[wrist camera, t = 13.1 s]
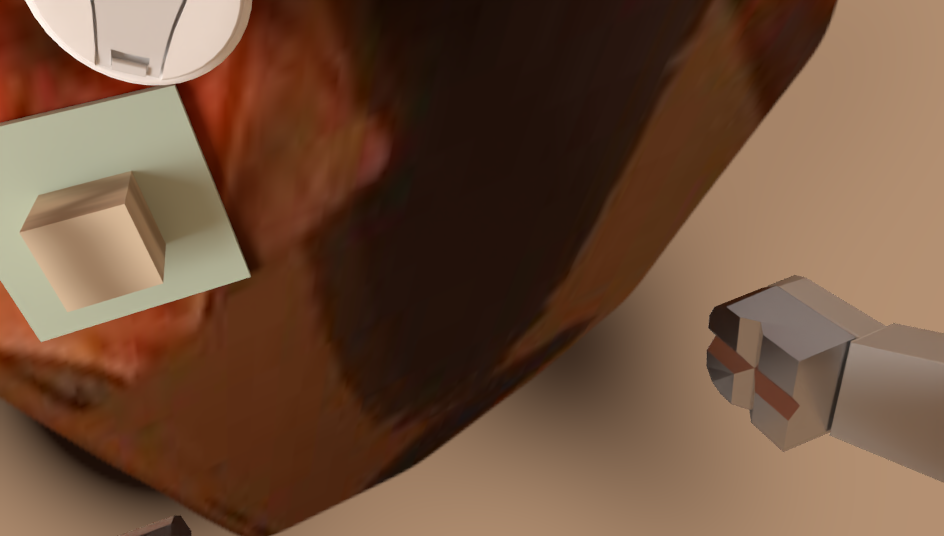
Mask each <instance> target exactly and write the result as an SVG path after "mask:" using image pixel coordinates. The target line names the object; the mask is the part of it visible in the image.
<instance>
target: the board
mask: <svg viewBox="0 0 944 536" xmlns="http://www.w3.org/2000/svg"><path fill="white" fill-rule="evenodd" d="M129 171H132V173H133V175H134V177H135V179H136V182H137V184H138V186H139V188H140V190H141V192H142V194H143V196H144V199H145V201H146V203H147V205H148V207H149V209H150V211H151V214H152V216H153V218H154V220H155V222H156V224H157V226H158V228H159V231H160V233H161V235H162V237H163V239H164V241H165V243H166V251H165V266H164V281H163V284H159V285H156V286H153V287H150V288H146V289H143V290H140V291H136V292H133V293H130V294H126V295H123V296H120V297H117V298H113V299H110V300H107V301H103V302H100V303H97V304H93V305H90V306H87V307H84V308H80V309H77V310H74V311H70V312H67V311H66V309H65V307H64V306H63V304H62V302H61V301H60V299H59V297H58V296H57V294H56V292H55V291H54V289H53V288H52V286H51V284H50V283H49V281H48V279H47V278H46V276H45V274H44V273H43V271H42V269H41V268H40V266H39V264H38V263H37V261H36V260H35V258H34V256H33V255H32V253H31V251H30V250H29V248H28V246H27V245H26V243H25V241H24V240H23V238H22V236H21V235H20V233H19V232H20V230H21V228H22V226H23V224H24V222H25V220H26V218H27V216H28V214H29V212H30V210H31V208H32V206H33V205H34V203H35V201H36V199H37V197H38V195H41V194H45V193H48V192H52V191H56V190H60V189H64V188H68V187H71V186H75V185H79V184H83V183H87V182H91V181H94V180H98V179H102V178H106V177H110V176H113V175H117V174H121V173H125V172H129ZM249 277H251V276H250V271H249V268H248V266H247V263H246V261H245V258H244V255H243V253H242V250H241V248H240V245H239V243H238V240H237V238H236V235H235V233H234V230H233V228H232V225H231V223H230V220H229V218H228V215H227V213H226V210H225V208H224V205H223V203H222V200H221V198H220V195H219V193H218V190H217V187H216V185H215V182H214V180H213V177H212V175H211V172H210V170H209V167H208V165H207V162H206V160H205V157H204V155H203V152H202V150H201V147H200V145H199V142H198V140H197V137H196V135H195V132H194V130H193V127H192V125H191V122H190V119H189V117H188V114H187V112H186V109H185V107H184V104H183V102H182V99H181V97H180V94H179V92H178V89H177V87H176V84H169V85H160V86H156V87H151V88H147V89H143V90H139V91H134V92H130V93H126V94H122V95H117V96H113V97H109V98H105V99H100V100H96V101H92V102H87V103H83V104H79V105H75V106H70V107H66V108H62V109H58V110H53V111H49V112H45V113H41V114H36V115H32V116H28V117H24V118H19V119H15V120H11V121H6V122H2V123H0V280H1V282H2V283H3V285H4V286H5V288H6V290H7V291H8V293H9V294H10V296H11V297H12V299H13V300H14V302H15V303H16V305H17V306H18V308H19V309H20V311H21V312H22V314H23V315H24V317H25V319H26V320H27V322H28V323H29V325H30V326H31V328H32V329H33V331H34V332H35V334H36V335H37V337H38V338H39V340H40V341H41V342H42V341H46V340H49V339H52V338H55V337H58V336H62V335H65V334H68V333H71V332H75V331H78V330H81V329H84V328H87V327H91V326H94V325H97V324H100V323H104V322H107V321H110V320H113V319H116V318H120V317H123V316H126V315H129V314H133V313H136V312H139V311H142V310H146V309H149V308H152V307H155V306H158V305H162V304H165V303H168V302H171V301H175V300H178V299H181V298H184V297H187V296H191V295H194V294H197V293H200V292H204V291H207V290H210V289H213V288H216V287H220V286H223V285H226V284H229V283H233V282H236V281H239V280H242V279H246V278H249Z"/></svg>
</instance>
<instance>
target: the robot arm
mask: <svg viewBox="0 0 944 536" xmlns="http://www.w3.org/2000/svg"><path fill="white" fill-rule="evenodd" d="M708 328H709V329H710V330H711V331H712V332H713V333H714V334H715V335H716V336H715V338H714V339H713V341H712V343H711V344H710V346H709V347H708V349H707V369H708V372H709V374H710V377H711V380H712V382H713V384H714V385H715V387H716V388H717V390H718V391H719V392H720V394H721V395H723V397H725V399H726V400H728V401H729V402H730V403H731V404H733V405H736V406H739V407H742V408H745V409H749V410H750V417H751V423H752V424H753V425H754V426H755V427H756V428H758V429H759V430H760V431H761V432H762V433H763V434H764V435H765V436H766V437H767V438H768V439H770V440H771V441H772V442H773V443H774V444H775V445H776V446H777V447H778V448H779V449H780V450H782V451H783V452H784V451H787V450H789V449H791V448H794V447H796V446H798V445H801V444H803V443H806V442H808V441H810V440H813V439H815V438H817V437H820V436H822V435H824V434H827V433H829V432H830V436H832V437H835V438H837V439H840V440H842V441H844V442H847V443H849V444H852V445H854V446H857V447H859V448H861V449H864V450H866V451H869V452H871V453H873V454H876V455H879V456H881V457H884V458H886V459H888V460H890V461H893V462H895V463H898V464H900V465H903V466H905V467H907V468H910V469H912V470H915V471H917V472H919V473H922V474H924V475H927V476H929V477H932V478H934V479H937V480H939V481H941V482H944V333H939V332H934V331H930V330H925V329H919V328H915V327H910V326H905V325H900V324H895V323H894V324H891V325H889V326H885V325H883V324H882V323H880V322H878V321H877V320H875V319H873V318H872V317H870V316H868V315H867V314H865V313H863V312H862V311H860V310H858V309H857V308H855V307H853V306H852V305H850V304H848V303H847V302H845V301H844V300H842V299H840V298H839V297H837V296H835V295H834V294H832V293H830V292H828V291H827V290H825V289H824V288H822V287H820V286H819V285H817V284H815V283H814V282H812V281H811V280H809V279H807V278H805V277H801V276H796V275H794V276H791V277H789V278H786V279H784V280H781V281H779V282H776V283H774V284H771V285H768V286H767V287H765V288H761V289H758V290H756V291H753V292H751V293H748V294H746V295H743V296H741V297H738V298H736V299H733V300H731V301H728V302H726V303H723V304H721V305H718V306H716V307H714V309H713V310H712V312H711V314H710V315H709V327H708ZM119 536H191V530H190V528H189V527H188V526H187V524H186V523H185V521H184V520H183V518H182V517H181V516H172V517H169V518H166V519H163V520H160V521H158V522H155V523H152V524H149V525H147V526H144V527H141V528H138V529H136V530H133V531H130V532H127V533H124V534H121V535H119Z"/></svg>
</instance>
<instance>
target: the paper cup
mask: <svg viewBox="0 0 944 536" xmlns="http://www.w3.org/2000/svg"><path fill="white" fill-rule="evenodd" d="M25 1H26V3H27V4H28V6H29V8H30V10H31V11H32V13H33V15H34V17H35V18H36V19H37V21H38V22H39V23H40V25H41V26H42V27H43V28H44V30H45V31H46V32H47V34H48V35H49V36H50V37H51V38H52V39H53V40H54V41H55V42H56V43H57V44H58V45H59V46H60V47H61V48H63V49H64V50H65V51H66V52H68V53H69V54H70V55H72V56H73V57H74V58H75V59H77V60H78V61H80V62H82V63H83V64H85V65H87V66H88V67H90V68H92V69H93V70H96V71H98V72H100V73H103V74H105V75H107V76H109V77H112V78H115V79H119V80H122V81H126V82H129V83H136V84H143V85H169V84H176V83H181V82H185V81H188V80H191V79H194V78H197V77H199V76H201V75H203V74H205V73H207V72H209V71H211V70H212V69H213V68H215V67H216V66H217V65H219V64H220V63H222V62H223V61H224V60H225V59H226V58H227V56H228V55H229V54H230V53H231V52H232V51H233V50H234V48H235V47H236V45H237V44H238V42H239V41H240V39H241V38H242V35H243V33H244V31H245V29H246V26H247V24H248V20H249V16H250V12H251V7H252V0H25Z"/></svg>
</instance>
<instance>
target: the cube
mask: <svg viewBox="0 0 944 536" xmlns="http://www.w3.org/2000/svg"><path fill="white" fill-rule="evenodd" d="M19 233H20V235H21V236H22V238H23V240H24V241H25V243H26V245H27V246H28V248H29V250H30V251H31V253H32V255H33V256H34V258H35V260H36V261H37V263H38V264H39V266H40V268H41V269H42V271H43V273H44V274H45V276H46V278H47V279H48V281H49V283H50V284H51V286H52V288H53V289H54V291H55V292H56V294H57V296H58V297H59V299H60V301H61V302H62V304H63V306H64V307H65V309H66V311H67V312H70V311H74V310H77V309H80V308H84V307H87V306H90V305H93V304H97V303H100V302H103V301H107V300H110V299H113V298H117V297H120V296H123V295H126V294H130V293H133V292H136V291H140V290H143V289H146V288H150V287H153V286H156V285H159V284H163V281H164V266H165V251H166V243H165V241H164V239H163V237H162V235H161V233H160V231H159V228H158V226H157V224H156V222H155V220H154V218H153V216H152V214H151V211H150V209H149V207H148V205H147V203H146V201H145V199H144V196H143V194H142V192H141V190H140V188H139V186H138V184H137V182H136V179H135V177H134V175H133V173H132V171H129V172H125V173H121V174H117V175H113V176H110V177H106V178H102V179H98V180H94V181H91V182H87V183H83V184H79V185H75V186H71V187H68V188H64V189H60V190H56V191H52V192H48V193H45V194H41V195H38V197H37V199H36V201H35V203H34V205H33V206H32V208H31V210H30V212H29V214H28V216H27V218H26V220H25V222H24V224H23V226H22V228H21V230H20V232H19Z"/></svg>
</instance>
